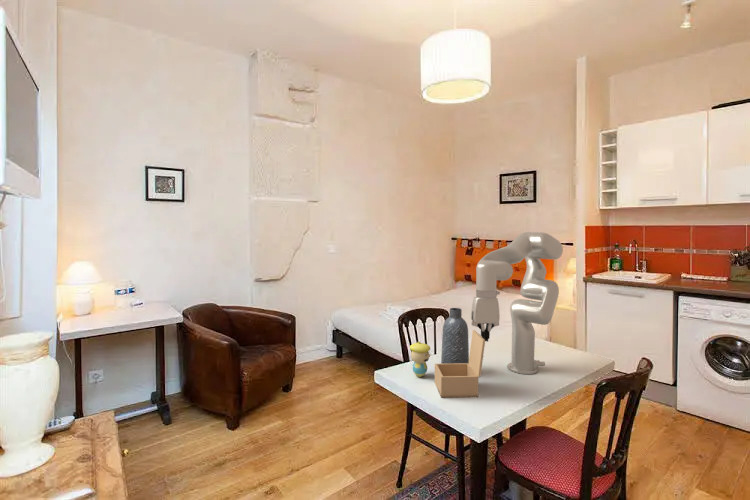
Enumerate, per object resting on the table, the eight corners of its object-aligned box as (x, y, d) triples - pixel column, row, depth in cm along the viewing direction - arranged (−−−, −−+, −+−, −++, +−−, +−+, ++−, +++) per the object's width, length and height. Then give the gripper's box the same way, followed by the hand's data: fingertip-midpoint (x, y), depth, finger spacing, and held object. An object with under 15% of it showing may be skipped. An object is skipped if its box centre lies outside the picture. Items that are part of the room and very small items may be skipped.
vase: (474, 371, 173) (475, 308, 171) (459, 379, 164) (460, 313, 162) (450, 365, 181) (451, 304, 179) (435, 372, 173) (435, 309, 171)
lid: (468, 363, 161) (470, 363, 161) (478, 376, 147) (480, 376, 147) (472, 329, 160) (475, 330, 160) (483, 340, 146) (485, 340, 147)
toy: (425, 381, 163) (426, 346, 162) (406, 377, 168) (406, 342, 166) (433, 375, 169) (433, 341, 168) (414, 371, 174) (414, 338, 173)
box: (468, 382, 162) (468, 363, 161) (478, 397, 148) (478, 376, 147) (434, 382, 162) (434, 363, 161) (441, 397, 148) (441, 377, 147)
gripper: (501, 292, 156) (500, 337, 158) (464, 292, 156) (463, 337, 157) (508, 295, 149) (507, 343, 150) (469, 296, 148) (468, 343, 150)
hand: (485, 340), depth 154 cm, fingers closed
